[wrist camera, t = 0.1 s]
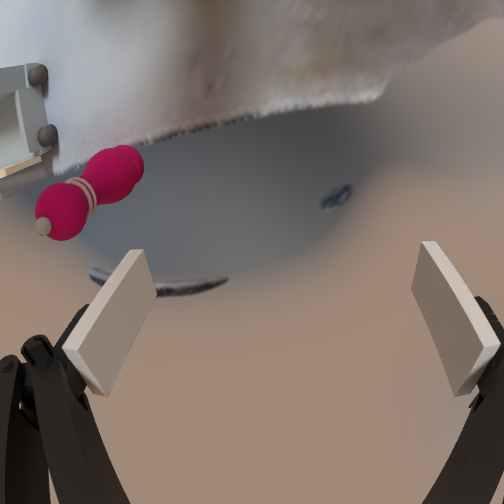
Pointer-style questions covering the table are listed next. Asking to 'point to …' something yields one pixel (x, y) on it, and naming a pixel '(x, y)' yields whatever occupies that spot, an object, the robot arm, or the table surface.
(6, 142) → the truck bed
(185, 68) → the table surface
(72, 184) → the pepper mill
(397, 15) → the table surface
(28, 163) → the panel
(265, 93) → the table surface
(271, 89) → the table surface
